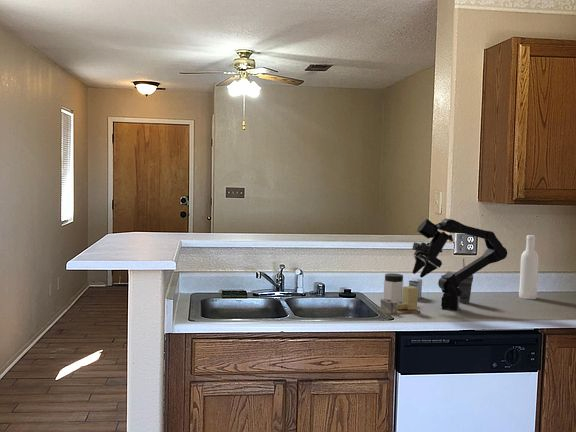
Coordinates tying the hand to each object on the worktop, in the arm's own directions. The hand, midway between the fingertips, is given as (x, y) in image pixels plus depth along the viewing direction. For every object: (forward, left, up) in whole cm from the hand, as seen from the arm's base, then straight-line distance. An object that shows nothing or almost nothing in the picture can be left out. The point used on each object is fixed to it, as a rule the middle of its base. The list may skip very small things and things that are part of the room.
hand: (416, 275), depth 255 cm
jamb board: (+4, +9, -15) cm, 17 cm away
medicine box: (+6, -23, -15) cm, 28 cm away
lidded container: (+13, -11, -15) cm, 22 cm away
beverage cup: (-16, -25, -15) cm, 33 cm away
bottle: (-41, -53, -15) cm, 68 cm away
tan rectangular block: (+3, +7, -13) cm, 16 cm away
